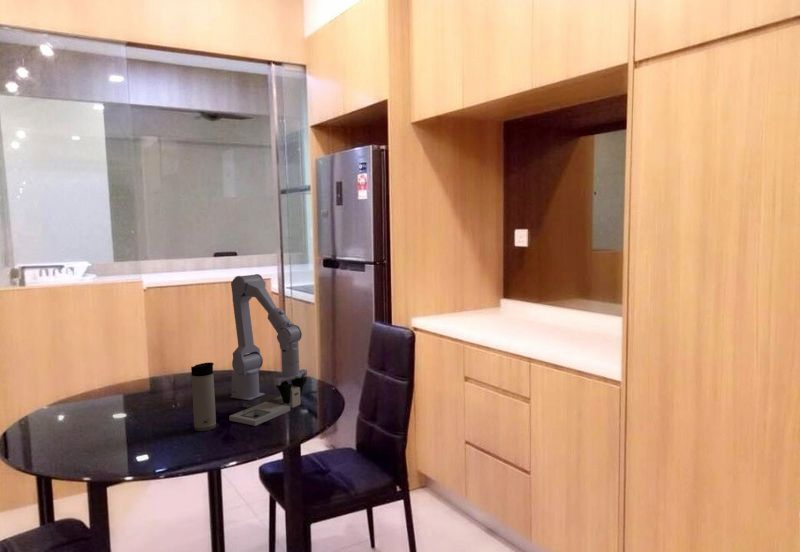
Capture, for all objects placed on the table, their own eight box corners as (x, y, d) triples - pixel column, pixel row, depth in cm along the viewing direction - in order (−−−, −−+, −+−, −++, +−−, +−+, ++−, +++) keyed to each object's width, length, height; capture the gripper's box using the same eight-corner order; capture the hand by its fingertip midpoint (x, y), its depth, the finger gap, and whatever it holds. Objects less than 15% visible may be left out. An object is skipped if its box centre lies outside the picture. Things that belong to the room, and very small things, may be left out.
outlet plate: (229, 420, 175) (229, 415, 175) (265, 406, 189) (265, 401, 189) (255, 425, 170) (255, 420, 169) (290, 410, 183) (290, 405, 183)
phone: (243, 407, 189) (242, 403, 189) (268, 397, 199) (267, 394, 199) (255, 409, 186) (254, 406, 186) (279, 399, 196) (279, 396, 196)
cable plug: (265, 412, 185) (265, 405, 185) (260, 411, 186) (259, 404, 186) (286, 403, 194) (286, 396, 194) (281, 402, 195) (281, 395, 195)
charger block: (283, 406, 189) (283, 388, 188) (291, 402, 192) (290, 385, 192) (293, 407, 187) (292, 390, 186) (301, 404, 190) (300, 387, 190)
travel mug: (210, 432, 165) (206, 365, 164) (190, 431, 167) (186, 365, 165) (221, 424, 171) (217, 360, 170) (201, 423, 173) (198, 360, 171)
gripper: (285, 367, 180) (286, 408, 181) (313, 358, 193) (314, 396, 194) (268, 365, 184) (270, 405, 185) (297, 356, 196) (299, 394, 197)
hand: (292, 400), depth 189 cm, fingers open, 5 cm apart
